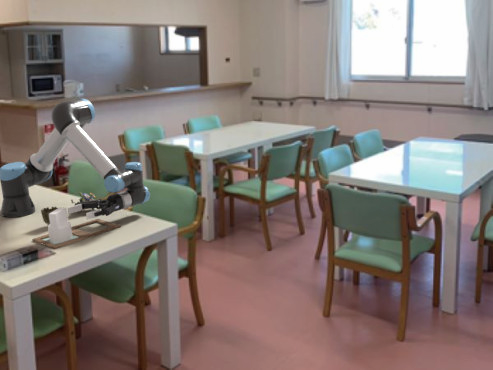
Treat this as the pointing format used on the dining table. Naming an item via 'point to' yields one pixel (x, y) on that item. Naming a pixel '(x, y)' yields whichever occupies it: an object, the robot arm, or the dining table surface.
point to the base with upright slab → (59, 226)
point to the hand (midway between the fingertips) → (77, 213)
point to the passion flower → (85, 198)
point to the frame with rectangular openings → (76, 234)
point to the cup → (47, 214)
